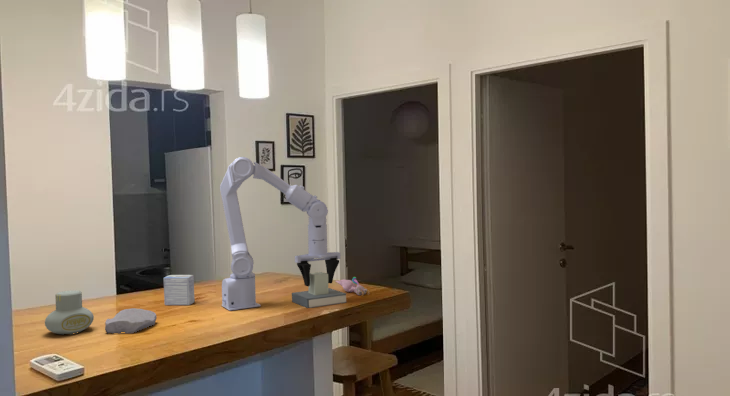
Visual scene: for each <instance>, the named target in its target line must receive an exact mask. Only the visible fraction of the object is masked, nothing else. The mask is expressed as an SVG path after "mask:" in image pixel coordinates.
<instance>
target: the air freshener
mask: <svg viewBox="0 0 730 396" xmlns="http://www.w3.org/2000/svg"><path fill="white" fill-rule="evenodd" d="M94 318H95V317H94V314H93V312H92V311H91V310H90V309H88V308H86V307H84V306H83V295H82V291H81V290H77V289H76V290H74V289H73V290H65V291H59V292H57V293H56V294H55V310H53V311H52V312H50V313H49V314H48V315H47V316H46V318H45V319H44V326H45V328H46V330H48V331H49V332H51V333H53V334H57V335H64V334H70V335H74V334H73V333H76V334H78V333H77V332H79V333H81V332H83V331H84V330H87V328H89V327H90V326H91V325H92V324H93V322H94Z"/></svg>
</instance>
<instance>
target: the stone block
mask: <svg viewBox="0 0 730 396" xmlns="http://www.w3.org/2000/svg"><path fill="white" fill-rule="evenodd" d="M156 321H157V314H156V312H154V311H152V310H147V309H143V308H126V309H122V310H120V311H119V312H118V313H116V314H115V316H114V317H112V318H107V319H105V326H104V330H105V332H106V334H108V333H112V334H113V333H118V334H122V333H121V332H125V333H124V334H134V332H135V333H138V332H140V331H142V329H143V330H145V329H144V328H146V329H147V327H148V328H150V327H149V326H151V327H152V325H153V326H155V323H156ZM139 330H140V331H139ZM137 331H138V332H137Z"/></svg>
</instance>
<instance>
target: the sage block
mask: <svg viewBox="0 0 730 396" xmlns="http://www.w3.org/2000/svg"><path fill="white" fill-rule="evenodd" d="M307 287H308V291H309V293H310V294H313V295H322V294H329V293H328V288H329V283H328V274H327V272H323V271H319V272H318V271H317V272H310V286H307Z"/></svg>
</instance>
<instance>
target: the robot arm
mask: <svg viewBox="0 0 730 396" xmlns="http://www.w3.org/2000/svg"><path fill="white" fill-rule="evenodd" d="M251 176H252V178H253V179H257V180H263V181H264V182H266V183H268V184H269V185H270V186H272V187H273V188H275V189H277V190H278V191H280V192H281V193H282V194H284V196H285V200H286V201H287V202H288V203H290V204H291V205H293V206H294V207H295V208H297V209H298V210H300V211H301V212H303V213H305V212H306V214H307V216H308V224H307V238H308V239H307V241H308V242H307V243H308V244H307V245H308V246H307V247H308V249H307V250H308V253H305V254H300V255H295V256H294V263H295V264H296V265H297V267H298V269H299V271H300V274H301V276H302V279H303V283H304V286H305V287H308V286H310V273H311V267H312V264H311V263H309V262H317V261H324V262H325V268H326V269H325V270H326V273H327V274H328V284H333V280H334V275H335V272H336V270H337V269H338V266H339V264H340V260H341V252H340V251H333V252H332V251H331V252H328V224H327V215H328V214H329V213H328V212H329V209H328V207H327V204H326V203H325V202H323V201H321V200H320V199H318V196H317V195H313V194H312V193H310V192H308V191H307V190H305V186H303V185H298V184H293V185H292V184H290V183H288V182H286V181H285V180H283V179H282V178H281V177H279V176H278V175H276V173H274V172H272V171H271V170H270V169H268V167H265V166H263V165H261V164H259V163H258V162H256V161H253V162H252V160H251V159H250V158H248V157H245V156H240V157H237V158H235V159H234V160H233V161H232V162H231V163H230V164H229V165H228V166H227V170H226V172H225V174H224V176H223V178H222V181H221V183H220V185H219V191H220V195H221V201H222V205H223V206H222V207H223V211H224V217H225V221H226V227H227V232H228V239H229V242H230V249H231V257H232V260H231V263H230V270H231V272H232V273H231V274H229V276H230V277H226V278H224V279H222V280H221V302H222V303H221V306H222V307H224V309H226V310H228V311H237V310H245V309H250V308H251V309H252V308H259V307H261V305H262V304H260V303H257V300H256V299H257V298H256V297H257V295H256V274H255V272H253V270H254V257H253V256H252V255H251V254H250V252H249V247H248V243H247V240H246V239H247V238H246V234H245V228H244V224H243V218H242V213H241V207H240V202H239V198H238V192H237V191H238V190H239V188H240V187H241V185H242V184H243V183H244V182H245V181H247V180H248V179H249V178H250V177H251Z"/></svg>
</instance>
